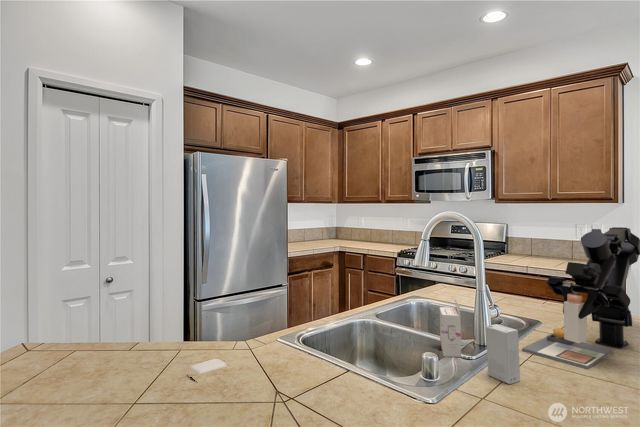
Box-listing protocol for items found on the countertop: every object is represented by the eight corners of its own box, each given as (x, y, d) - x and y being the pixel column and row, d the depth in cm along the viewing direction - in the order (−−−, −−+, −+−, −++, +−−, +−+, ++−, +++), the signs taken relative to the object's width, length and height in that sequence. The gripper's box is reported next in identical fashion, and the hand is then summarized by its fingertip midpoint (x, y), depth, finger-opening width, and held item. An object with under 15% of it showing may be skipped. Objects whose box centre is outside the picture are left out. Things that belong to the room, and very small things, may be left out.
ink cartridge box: (439, 345, 113) (438, 296, 113) (456, 346, 112) (456, 297, 112) (442, 356, 104) (441, 303, 104) (461, 357, 103) (460, 304, 103)
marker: (572, 336, 103) (572, 292, 103) (586, 341, 99) (586, 295, 99) (564, 339, 101) (563, 294, 101) (578, 343, 98) (577, 297, 98)
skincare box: (521, 381, 89) (520, 329, 89) (508, 385, 87) (507, 332, 87) (498, 371, 94) (497, 323, 94) (485, 375, 93) (485, 325, 92)
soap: (217, 366, 102) (217, 355, 102) (231, 373, 97) (231, 362, 97) (185, 376, 96) (185, 365, 95) (198, 385, 91) (197, 373, 91)
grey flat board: (550, 337, 118) (550, 331, 118) (612, 352, 105) (612, 345, 105) (522, 350, 108) (522, 343, 108) (587, 369, 95) (587, 361, 95)
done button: (557, 332, 116) (557, 327, 116) (573, 336, 112) (573, 331, 112) (550, 335, 113) (550, 330, 113) (567, 339, 110) (567, 334, 110)
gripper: (549, 248, 110) (524, 290, 106) (623, 254, 93) (596, 304, 89) (567, 272, 114) (543, 314, 109) (641, 283, 97) (616, 333, 92)
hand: (571, 316), depth 100 cm, fingers closed on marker, 4 cm apart
